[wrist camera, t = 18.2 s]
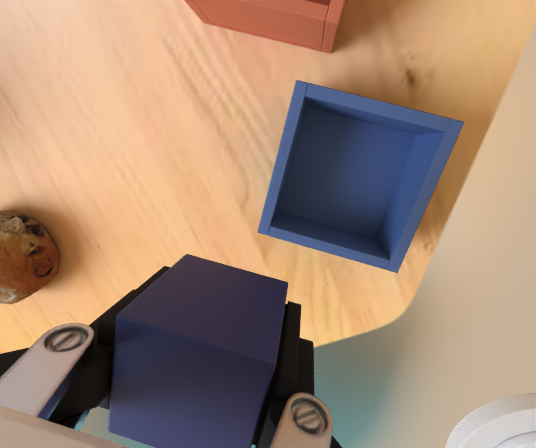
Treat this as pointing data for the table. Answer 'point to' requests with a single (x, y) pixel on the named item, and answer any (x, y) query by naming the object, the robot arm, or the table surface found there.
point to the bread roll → (24, 257)
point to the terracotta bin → (277, 19)
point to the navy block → (196, 356)
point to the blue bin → (355, 174)
